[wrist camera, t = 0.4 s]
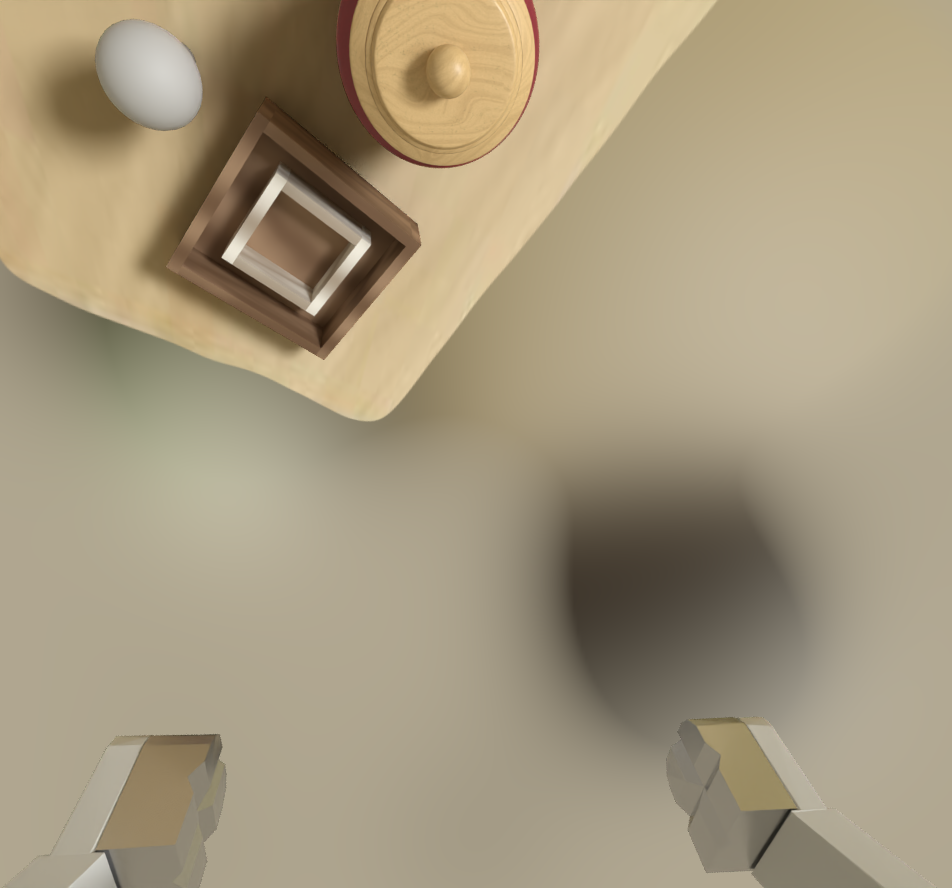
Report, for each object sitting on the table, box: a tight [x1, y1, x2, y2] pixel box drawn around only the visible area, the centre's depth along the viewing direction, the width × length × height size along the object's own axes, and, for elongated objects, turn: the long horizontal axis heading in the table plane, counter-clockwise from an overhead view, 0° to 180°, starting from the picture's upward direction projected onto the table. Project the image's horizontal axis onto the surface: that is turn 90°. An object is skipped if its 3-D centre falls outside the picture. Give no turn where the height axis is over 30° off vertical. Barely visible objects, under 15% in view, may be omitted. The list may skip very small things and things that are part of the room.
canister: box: [336, 0, 539, 168], centre depth 36 cm, size 13×13×18 cm
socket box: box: [166, 97, 421, 360], centre depth 50 cm, size 16×16×5 cm
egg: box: [95, 19, 202, 131], centre depth 37 cm, size 6×6×11 cm
